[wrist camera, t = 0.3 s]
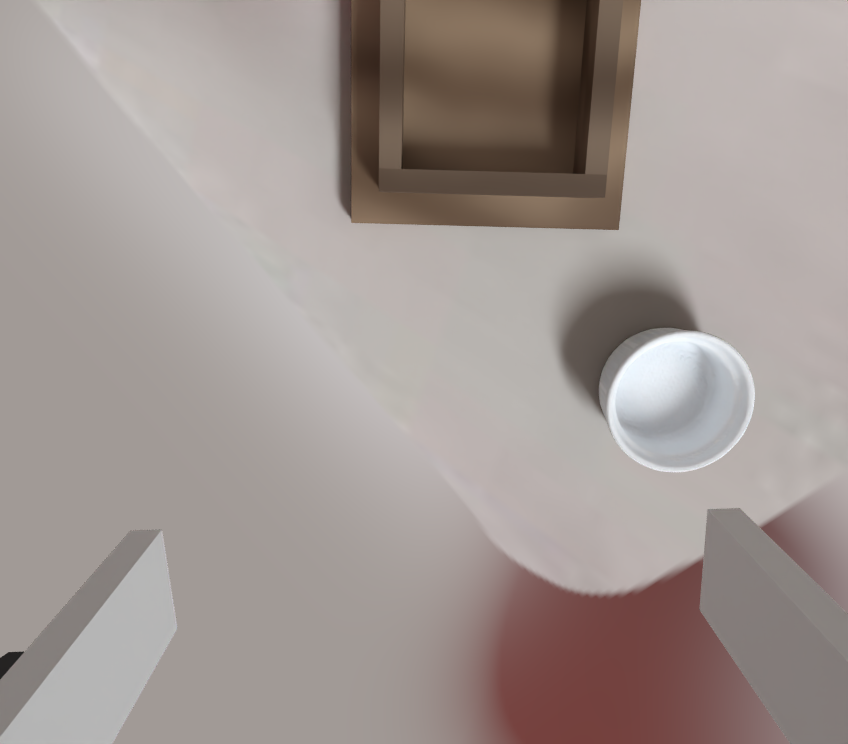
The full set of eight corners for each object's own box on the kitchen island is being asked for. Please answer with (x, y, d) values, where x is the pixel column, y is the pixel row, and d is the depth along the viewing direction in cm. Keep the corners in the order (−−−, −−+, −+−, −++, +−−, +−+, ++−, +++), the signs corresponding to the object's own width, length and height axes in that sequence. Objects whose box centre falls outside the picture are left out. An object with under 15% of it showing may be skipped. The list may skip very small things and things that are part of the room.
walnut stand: (353, -72, 37) (344, -109, 32) (639, -63, 37) (668, -99, 32) (353, 222, 41) (345, 224, 36) (611, 228, 41) (634, 231, 36)
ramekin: (563, 406, 44) (578, 427, 40) (641, 292, 42) (666, 302, 38) (669, 470, 45) (695, 498, 41) (750, 363, 43) (786, 380, 39)
